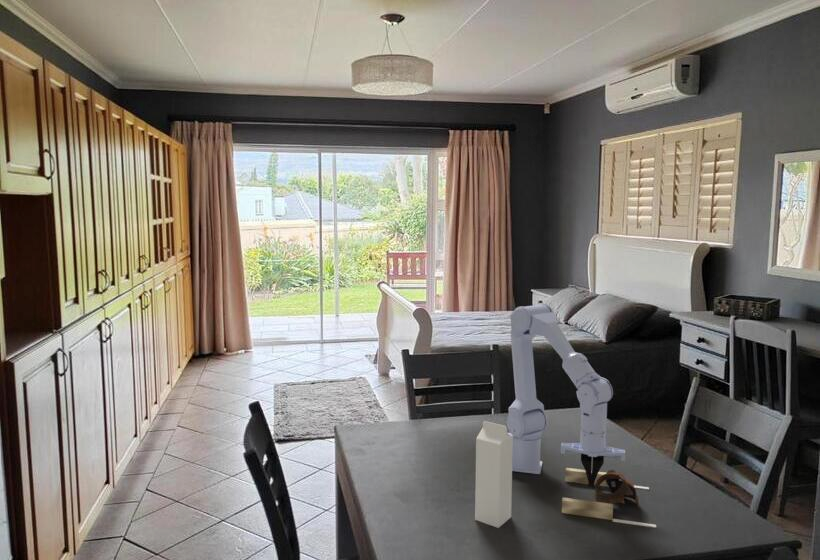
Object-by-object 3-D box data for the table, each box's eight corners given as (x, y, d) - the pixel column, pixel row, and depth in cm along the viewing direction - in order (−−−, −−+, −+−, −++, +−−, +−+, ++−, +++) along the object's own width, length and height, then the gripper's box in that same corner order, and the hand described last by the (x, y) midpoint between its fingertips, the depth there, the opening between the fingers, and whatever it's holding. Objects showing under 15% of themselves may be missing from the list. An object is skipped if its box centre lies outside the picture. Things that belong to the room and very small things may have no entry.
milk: (488, 509, 140) (489, 416, 138) (511, 517, 137) (513, 422, 134) (474, 520, 135) (475, 424, 133) (498, 528, 132) (500, 430, 130)
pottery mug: (647, 515, 139) (635, 489, 136) (608, 529, 140) (595, 503, 138) (631, 480, 150) (619, 455, 147) (595, 493, 152) (582, 469, 149)
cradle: (561, 512, 139) (562, 500, 139) (565, 478, 156) (566, 467, 156) (612, 520, 136) (613, 507, 135) (610, 484, 153) (611, 473, 153)
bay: (612, 521, 135) (612, 520, 135) (610, 483, 154) (610, 482, 154) (656, 527, 132) (656, 526, 132) (648, 488, 151) (648, 487, 151)
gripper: (560, 432, 142) (559, 487, 144) (626, 439, 138) (624, 496, 140) (562, 422, 149) (560, 475, 150) (625, 428, 145) (622, 483, 146)
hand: (591, 484), depth 145 cm, fingers closed
